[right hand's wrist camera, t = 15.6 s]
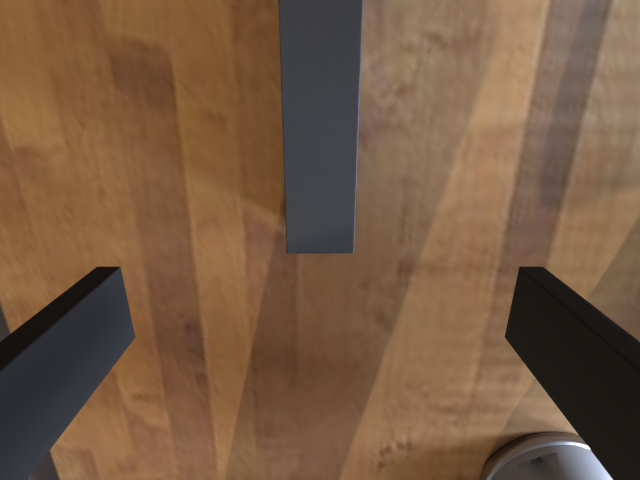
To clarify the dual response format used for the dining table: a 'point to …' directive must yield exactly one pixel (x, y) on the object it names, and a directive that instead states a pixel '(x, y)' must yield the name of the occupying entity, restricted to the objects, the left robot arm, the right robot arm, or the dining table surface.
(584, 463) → the right robot arm
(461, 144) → the dining table surface
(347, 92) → the post
